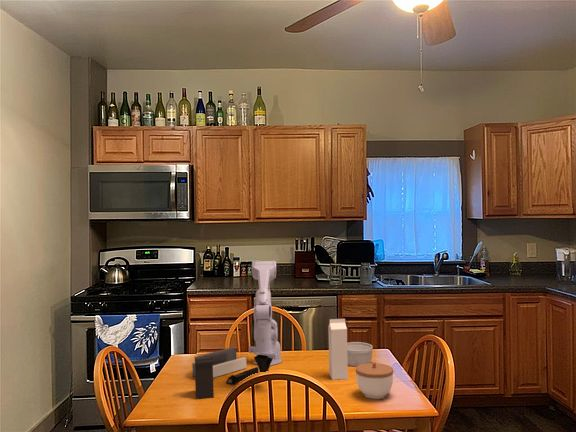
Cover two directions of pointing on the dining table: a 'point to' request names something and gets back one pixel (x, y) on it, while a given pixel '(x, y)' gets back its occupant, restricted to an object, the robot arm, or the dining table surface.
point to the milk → (338, 349)
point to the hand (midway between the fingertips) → (264, 375)
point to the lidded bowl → (374, 379)
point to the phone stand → (204, 378)
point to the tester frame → (217, 357)
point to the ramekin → (358, 353)
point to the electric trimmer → (241, 376)
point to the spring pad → (229, 367)
